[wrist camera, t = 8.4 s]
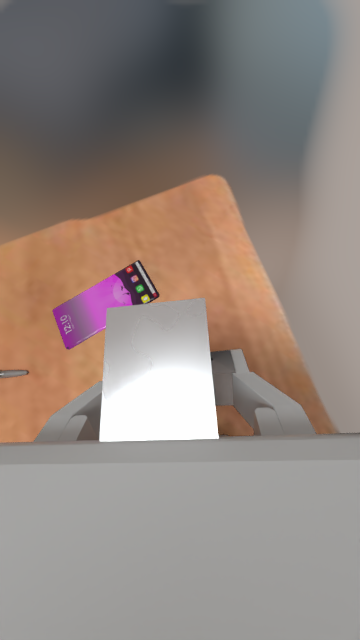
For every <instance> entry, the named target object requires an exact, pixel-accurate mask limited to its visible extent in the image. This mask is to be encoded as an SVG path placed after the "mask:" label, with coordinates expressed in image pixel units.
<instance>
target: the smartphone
mask: <svg viewBox="0 0 360 640" xmlns="http://www.w3.org/2000/svg"><path fill="white" fill-rule="evenodd" d="M158 297H159V294H158V292H157V290H156V288H155V287H154V285H153V283H152V281H151V280H150V278H149V276H148V275H147V273H146V271H145V269H144V268H143V266H142V264H141V262H140V261H139V260H138V261H136V262H134V263H133V264H131V265H129V266H127V267H126V268H124V269H122V270H120V271H119V272H117V273H115V274H114V275H112V276H110V277H108V278H107V279H105V280H103V281H101V282H100V283H98V284H96V285H94V286H93V287H91V288H89V289H87V290H86V291H84V292H82V293H81V294H79V295H77V296H75V297H74V298H72V299H70V300H68V301H67V302H65V303H63V304H61V305H60V306H58V307H56V308H54V309H53V314H54V316H55V319H56V322H57V325H58V328H59V330H60V333H61V336H62V339H63V342H64V344H65V347H66V349H71V348H73V347H74V346H76V345H78V344H80V343H81V342H83V341H85V340H86V339H88V338H90V337H92V336H93V335H95V334H97V333H98V332H100V331H102V330H103V329H105V328H106V313H107V308H112V307H122V306H131V305H141V304H148V303H149V302H151V301H153V300H155V299H156V298H158Z"/></svg>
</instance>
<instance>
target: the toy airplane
mask: <svg viewBox="0 0 360 640" xmlns="http://www.w3.org/2000/svg"><path fill="white" fill-rule="evenodd" d="M26 373H29V372H27V371H26V370H6V371H0V378H8V377H17V376H22V375H27V374H26Z"/></svg>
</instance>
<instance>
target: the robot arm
mask: <svg viewBox="0 0 360 640" xmlns="http://www.w3.org/2000/svg"><path fill="white" fill-rule="evenodd" d="M210 356H211V367H212V377H213V387H214V398H215V405H233V406H234V407H235V408H236V410H237V411H238V412H239V413H240V414H241V415H242V417H243V418H244V419H245V420H246V421H247V422H248V423H249V425H250V426H251V427H252V428H253V429H254V435H253V436H226V437H218V438H216V439H176V440H137V441H100V423H101V405H102V387H103V381H99V382H98V383H96V384H95V385H94V386H92V387H91V388H89V389H88V390H87V391H85V392H84V393H82V394H81V395H80V396H78V397H77V398H75V399H74V400H73V401H71V402H70V403H68V404H67V405H66V406H64V407H63V408H61V409H60V410H59V411H57V412H56V413H54V414H53V415H52V416H51V417H50V418H49V420H48V421H47V423H46V424H45V426H44V427H43V429H42V430H41V431H40V433H39V434H38V436H37V437H36V439H35V440H34V442H8V443H0V640H360V433H336V434H316V432H315V430H314V428H313V426H312V424H311V423H310V421H309V419H308V417H307V415H306V413H305V412H304V410H303V408H302V406H301V405H300V404H298V403H297V402H296V401H294V400H293V399H291V398H290V397H288V396H287V395H285V394H284V393H283V392H281V391H280V390H278V389H277V388H275V387H274V386H273V385H271V384H270V383H268V382H267V381H265V380H264V379H262V378H261V377H260V376H258V375H257V374H255V373H254V372H249V369H248V366H247V363H246V360H245V357H244V354H243V351H242V349H232V350H225V351H213V352H210ZM99 441H100V442H99Z"/></svg>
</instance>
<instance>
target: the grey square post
mask: <svg viewBox="0 0 360 640" xmlns="http://www.w3.org/2000/svg"><path fill="white" fill-rule="evenodd" d="M216 438H218V429H217V419H216V408H215V398H214V387H213V377H212V367H211V356H210V346H209V335H208V325H207V315H206V304H205V298H199V299H189V300H180V301H170V302H160V303H151V304H141V305H131V306H122V307H112V308H107V313H106V332H105V350H104V368H103V387H102V405H101V423H100V441H137V440H176V439H216ZM100 441H99V442H100Z"/></svg>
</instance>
